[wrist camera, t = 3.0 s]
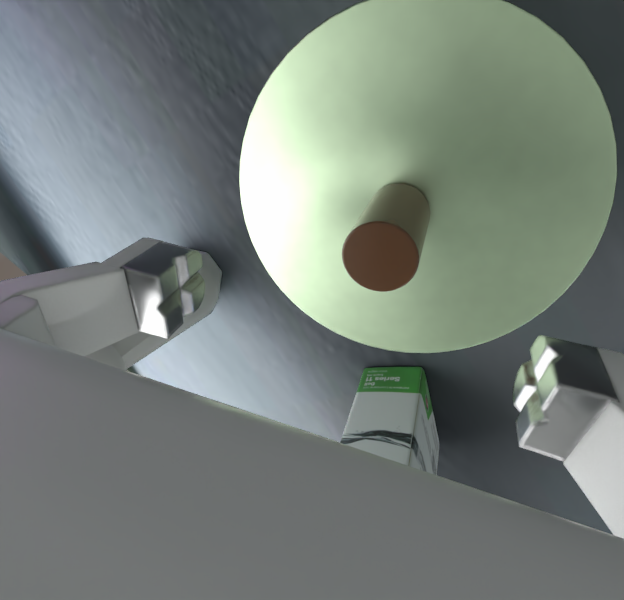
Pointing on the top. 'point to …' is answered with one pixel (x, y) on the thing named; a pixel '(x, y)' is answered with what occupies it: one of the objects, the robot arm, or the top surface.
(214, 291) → the salt shaker
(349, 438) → the ink box
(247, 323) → the top surface
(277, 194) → the lid
